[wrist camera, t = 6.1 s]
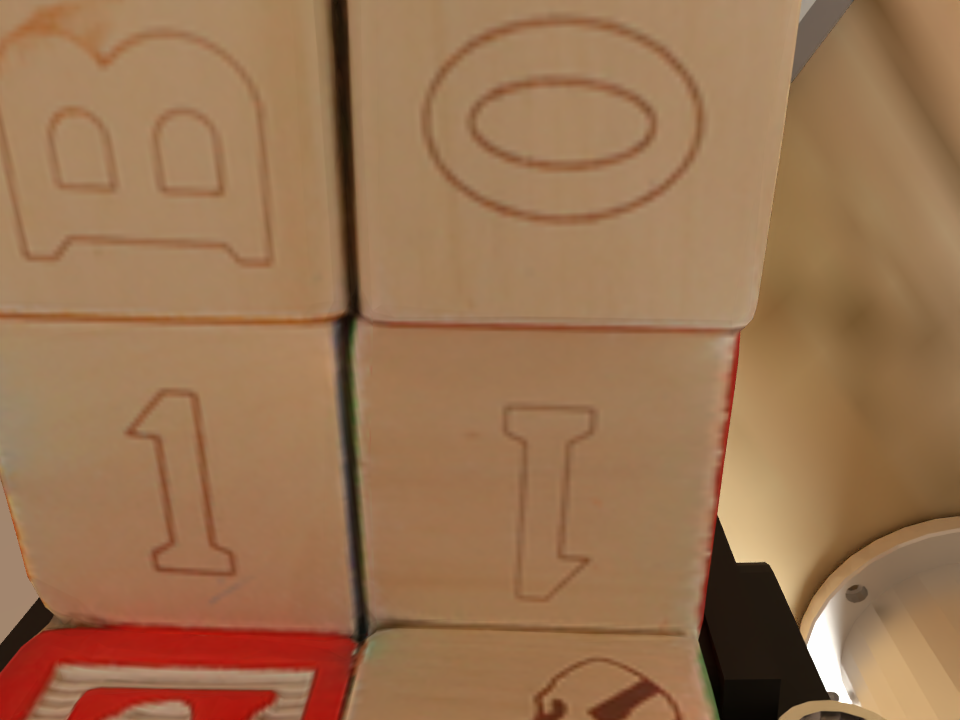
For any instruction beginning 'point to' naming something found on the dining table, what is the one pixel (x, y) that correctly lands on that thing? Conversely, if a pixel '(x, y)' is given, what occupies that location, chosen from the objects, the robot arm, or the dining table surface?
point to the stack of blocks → (376, 349)
